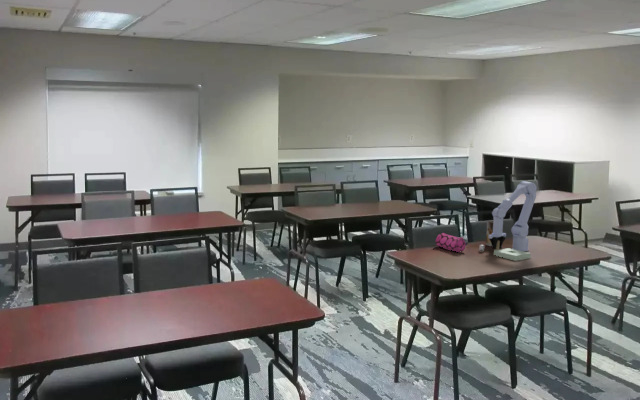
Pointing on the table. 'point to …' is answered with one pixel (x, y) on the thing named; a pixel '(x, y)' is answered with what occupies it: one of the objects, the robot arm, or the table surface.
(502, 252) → the board
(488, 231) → the coffee box
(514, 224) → the robot arm
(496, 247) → the long pin
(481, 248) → the short pin
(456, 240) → the pink foam roller
